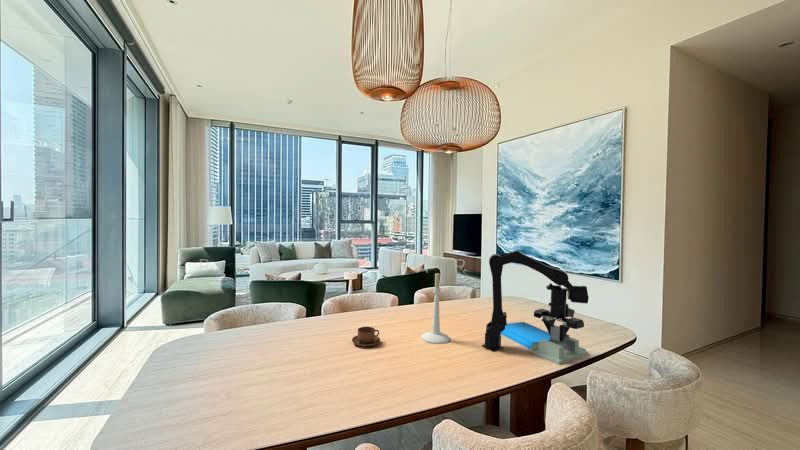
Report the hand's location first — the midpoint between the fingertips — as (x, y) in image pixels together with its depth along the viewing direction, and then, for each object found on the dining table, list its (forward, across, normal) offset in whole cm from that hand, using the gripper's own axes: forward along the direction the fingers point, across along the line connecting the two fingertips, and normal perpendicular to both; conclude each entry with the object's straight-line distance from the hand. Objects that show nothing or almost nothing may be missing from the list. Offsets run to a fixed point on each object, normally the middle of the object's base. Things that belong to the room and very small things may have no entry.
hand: (556, 339), depth 137 cm
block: (+1, 0, 0) cm, 1 cm away
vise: (+7, 0, -3) cm, 7 cm away
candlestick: (+7, +38, +32) cm, 50 cm away
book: (+7, +19, -6) cm, 21 cm away
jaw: (+5, 0, -7) cm, 9 cm away
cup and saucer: (+7, +48, +62) cm, 79 cm away
